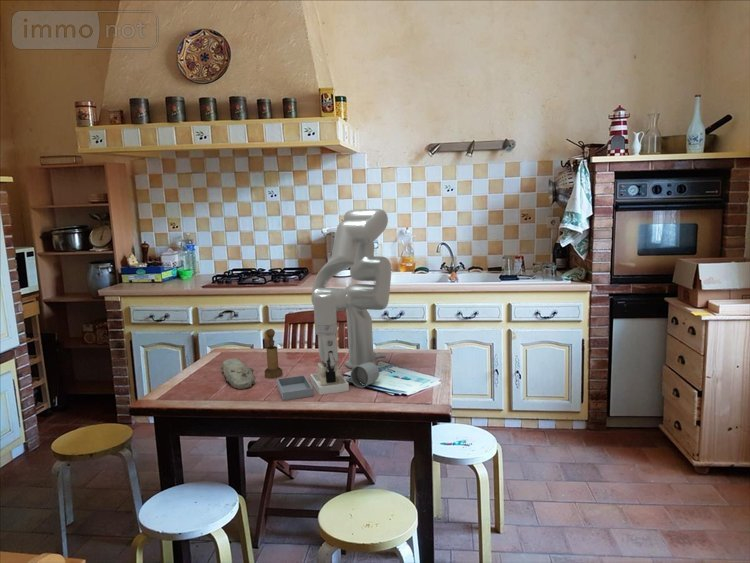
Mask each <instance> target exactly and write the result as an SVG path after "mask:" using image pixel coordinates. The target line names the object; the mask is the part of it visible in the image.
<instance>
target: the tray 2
mask: <svg viewBox="0 0 750 563" xmlns="http://www.w3.org/2000/svg"><path fill="white" fill-rule="evenodd" d="M339 381H340V383H334V384H327V385H322V384H321V382H320V381H319V377H318V372H316V373H310V384H312V387H313V388H314V389H315V391H317V393H318V395H319V396H323V395H330V394H336V393H344V392H349V391H350V387H349V386H350V385H349V384H350V383H349V381H347V380H346V379H345V377H344V376H343V374H341V372H339Z"/></svg>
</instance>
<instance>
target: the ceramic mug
mask: <svg viewBox="0 0 750 563" xmlns="http://www.w3.org/2000/svg"><path fill="white" fill-rule="evenodd" d="M379 377H380V369H379V366H378V365H376V364H374V363H372V362H367V363H364V364H361V365H358V366H355V367H354V368H353V369H352V368H351V371H350V377H348V378H347V380H348V383H352V384H353V385H354V386H355V387H357V388H360V389H361V388H366V387H368V386H369V385H371V384H373V383H374V382H376V381H378V379H379ZM360 382H361V383H363V384H366V385H362V384H361V383H360Z"/></svg>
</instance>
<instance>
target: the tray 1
mask: <svg viewBox="0 0 750 563" xmlns="http://www.w3.org/2000/svg"><path fill="white" fill-rule="evenodd" d="M275 379H276V387H277V389H278V392H279V394H280V396H281V398H282V401H289V400H296V399H303V398H309V397H314V394H315V392H314V386H313V385H311V384H312V383H311V381H309V380H308V378H307V376H306V375H305V374H303V375H301V374H300V375H296V376H287V377H282V378H281V377H278V378H275Z"/></svg>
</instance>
